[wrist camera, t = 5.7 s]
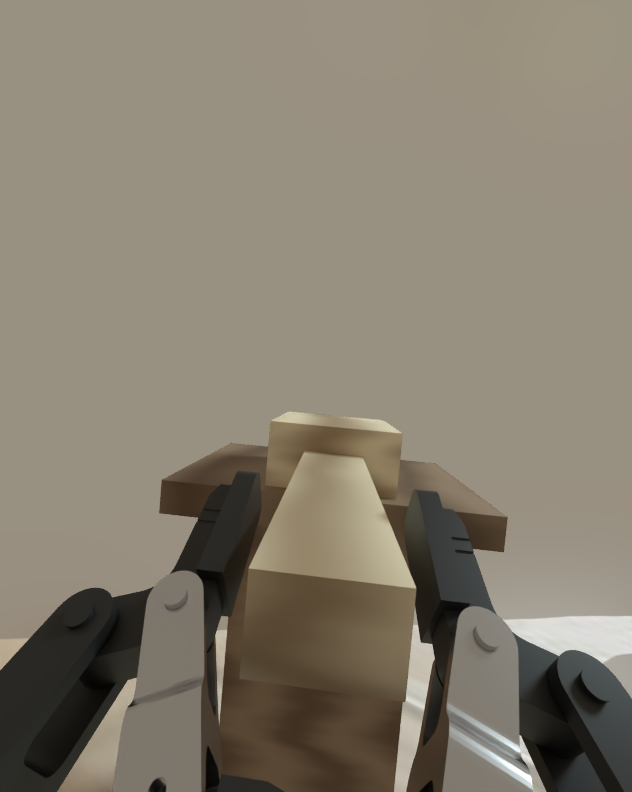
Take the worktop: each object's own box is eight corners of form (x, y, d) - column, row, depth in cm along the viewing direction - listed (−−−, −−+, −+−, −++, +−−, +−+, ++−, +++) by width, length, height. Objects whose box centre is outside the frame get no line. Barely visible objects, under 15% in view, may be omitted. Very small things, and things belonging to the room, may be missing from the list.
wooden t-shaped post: (403, 784, 32) (435, 463, 31) (450, 1052, 19) (507, 517, 18) (205, 754, 33) (231, 443, 32) (123, 988, 20) (162, 479, 19)
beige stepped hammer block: (378, 467, 28) (382, 420, 27) (517, 717, 7) (538, 524, 7) (284, 457, 28) (288, 411, 28) (137, 664, 7) (151, 481, 7)
